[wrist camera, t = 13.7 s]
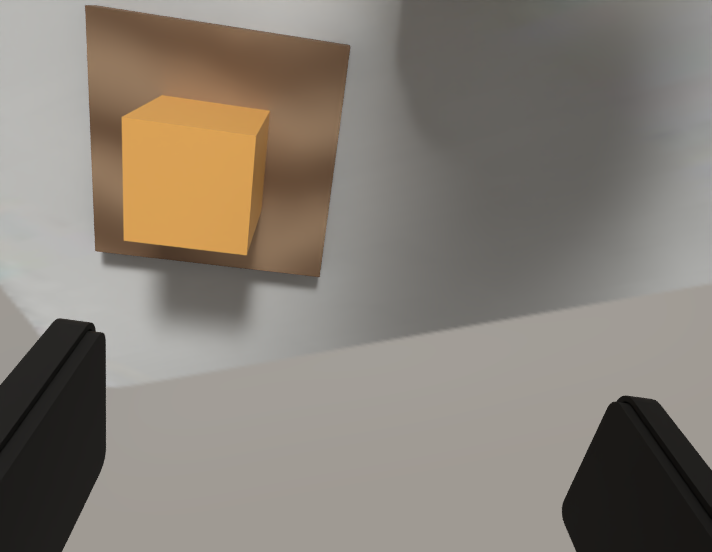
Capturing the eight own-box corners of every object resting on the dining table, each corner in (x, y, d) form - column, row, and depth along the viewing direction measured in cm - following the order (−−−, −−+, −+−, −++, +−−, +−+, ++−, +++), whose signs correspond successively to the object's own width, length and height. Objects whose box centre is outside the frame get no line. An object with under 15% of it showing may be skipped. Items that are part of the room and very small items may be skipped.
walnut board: (95, 5, 32) (47, 5, 26) (349, 45, 33) (353, 52, 28) (103, 242, 38) (65, 282, 32) (319, 267, 39) (318, 310, 34)
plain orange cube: (162, 95, 32) (121, 117, 26) (269, 110, 33) (255, 135, 27) (160, 197, 35) (123, 240, 29) (261, 210, 36) (246, 255, 29)
